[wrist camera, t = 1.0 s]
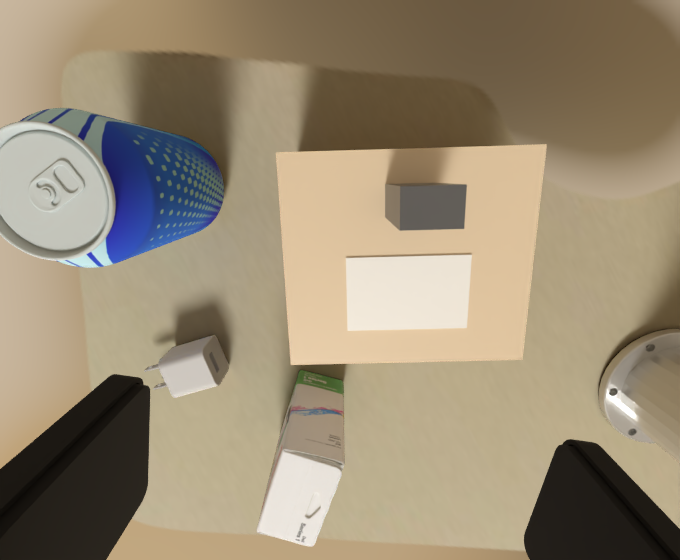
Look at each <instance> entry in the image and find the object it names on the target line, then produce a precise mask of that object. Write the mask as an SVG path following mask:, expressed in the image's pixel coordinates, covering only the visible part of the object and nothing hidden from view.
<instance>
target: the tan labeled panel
mask: <svg viewBox="0 0 680 560" xmlns="http://www.w3.org/2000/svg"><path fill="white" fill-rule="evenodd" d="M546 146H547V145H546V144H544V145H509V146H475V147H441V148H408V149H374V150H340V151H306V152H276V161H277V175H278V189H279V204H280V218H281V232H282V247H283V261H284V275H285V290H286V304H287V318H288V333H289V347H290V361H291V365H314V364H357V363H400V362H444V361H487V360H522V358H523V349H524V341H525V332H526V323H527V314H528V305H529V296H530V288H531V279H532V270H533V261H534V252H535V243H536V235H537V226H538V217H539V208H540V199H541V190H542V182H543V173H544V164H545V155H546Z"/></svg>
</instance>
